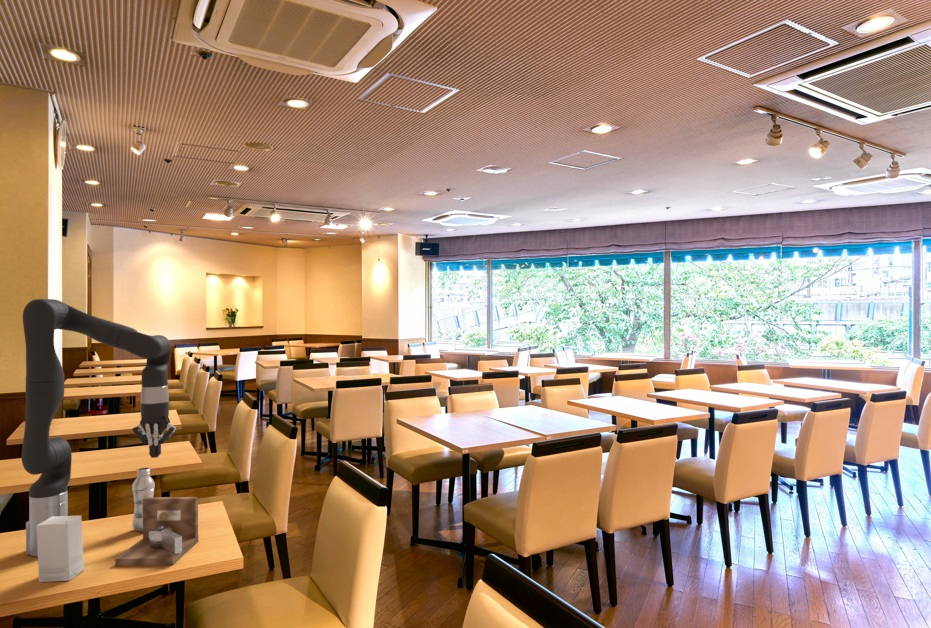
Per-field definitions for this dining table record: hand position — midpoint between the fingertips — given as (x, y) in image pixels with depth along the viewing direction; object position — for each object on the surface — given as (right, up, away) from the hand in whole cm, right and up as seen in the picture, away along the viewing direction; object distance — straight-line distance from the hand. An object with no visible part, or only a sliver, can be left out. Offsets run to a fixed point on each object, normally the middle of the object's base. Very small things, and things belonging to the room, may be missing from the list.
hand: (155, 457), depth 171 cm
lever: (+7, -25, -7) cm, 27 cm away
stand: (+4, -27, -6) cm, 28 cm away
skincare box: (-14, -27, -20) cm, 37 cm away
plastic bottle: (-10, -27, +12) cm, 31 cm away
